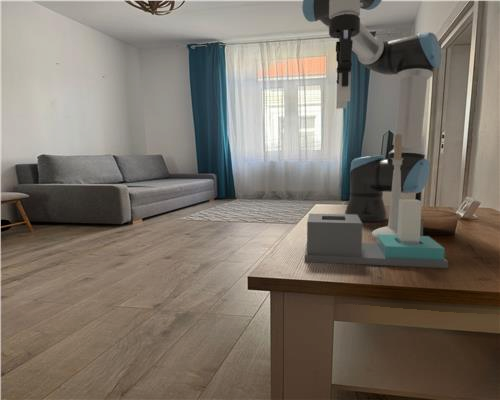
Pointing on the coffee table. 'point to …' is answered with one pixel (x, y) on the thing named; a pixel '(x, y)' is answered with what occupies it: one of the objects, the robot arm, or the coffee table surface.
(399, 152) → the candlestick
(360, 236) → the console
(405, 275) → the coffee table surface
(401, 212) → the plug
